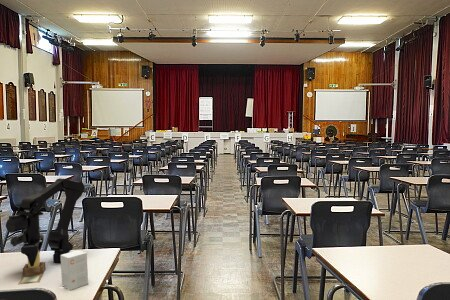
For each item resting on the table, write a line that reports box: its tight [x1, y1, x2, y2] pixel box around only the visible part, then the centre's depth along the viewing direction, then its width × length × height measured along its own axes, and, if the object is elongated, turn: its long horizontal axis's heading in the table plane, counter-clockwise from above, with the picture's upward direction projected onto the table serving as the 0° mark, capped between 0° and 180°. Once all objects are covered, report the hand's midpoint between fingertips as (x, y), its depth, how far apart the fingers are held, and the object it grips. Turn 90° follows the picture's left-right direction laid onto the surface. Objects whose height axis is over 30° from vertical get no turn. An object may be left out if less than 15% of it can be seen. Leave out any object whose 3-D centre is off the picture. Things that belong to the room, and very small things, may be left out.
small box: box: [60, 249, 89, 291], centre depth 163 cm, size 8×6×13 cm
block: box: [27, 251, 41, 268], centre depth 176 cm, size 4×4×9 cm
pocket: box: [22, 261, 47, 277], centre depth 177 cm, size 8×8×3 cm
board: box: [17, 272, 45, 286], centre depth 172 cm, size 8×17×1 cm, turn 15°
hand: (34, 262), depth 177 cm, fingers open, 9 cm apart
